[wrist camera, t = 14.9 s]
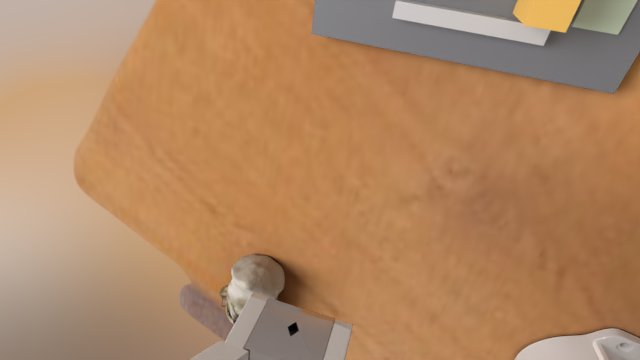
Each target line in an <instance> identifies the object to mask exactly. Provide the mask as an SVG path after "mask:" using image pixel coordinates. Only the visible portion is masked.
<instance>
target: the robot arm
mask: <svg viewBox="0 0 640 360" xmlns="http://www.w3.org/2000/svg"><path fill="white" fill-rule="evenodd" d="M334 321H335V322H334ZM352 325H353V324H350V323H347V322H343V321H340V320H337V319H335V318H332V317H329V316H326V315H323V314H319V313H316V312H313V311H309V310H306V309H303V308H299V307H296V306H293V305H290V304H287V303H284V302H281V301H278V300H275V299H272V298H270V297H266V296H263V295H260V294H257V293H254V292H253V293H252V295H251V296H250V297H249V298H248V300H247V302H246V304H245V306H244V308H243V309H242V311H241V313H240V315H239V317H238V319H237V320H236V322H235V324H234V326H233V328H232V330H231V331H230V333H229V335H228V337H227V339H226V341H225V342H223V341H218V342H217V343H215V344H214V345H212V346H211V347H209V348H207V349H206V350H204V351H203V352H201V353H199V354H198V355H196V356H195V357H193V358H192V359H190V360H345V358H346V353H347V349H348V345H349V341H350V336H351V332H352ZM515 360H640V338H638V337H636V336H634V335H632V334H629V333H627V332H625V331H622V330H620V329H615V328H610V329H604V330H600V331H596V332H593V333H590V334H586V335H577V336H561V337H554V338H549V339H545V340H541V341H538V342H536V343H533V344H531V345H529V346H527V347H526V348H524V349H523V350H522V351H521V352H520V353H519V354H518V355H517V356H516V358H515Z"/></svg>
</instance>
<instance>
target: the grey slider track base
mask: <svg viewBox="0 0 640 360" xmlns="http://www.w3.org/2000/svg"><path fill="white" fill-rule="evenodd" d="M516 3H517V0H315V6H314V16H313V26H312V34H315V35H320V36H325V37H330V38H335V39H340V40H345V41H350V42H355V43H360V44H365V45H370V46H375V47H380V48H385V49H390V50H395V51H400V52H405V53H410V54H416V55H421V56H426V57H431V58H436V59H441V60H446V61H451V62H456V63H461V64H466V65H471V66H476V67H481V68H486V69H491V70H496V71H501V72H506V73H511V74H516V75H521V76H526V77H531V78H536V79H541V80H546V81H551V82H556V83H562V84H567V85H572V86H577V87H582V88H587V89H592V90H597V91H602V92H607V93H612V94H614V93H615V91H616V90H617V88H618V86H619V85H620V83H621V81H622V80H623V78H624V77H625V75H626V73H627V72H628V70H629V68H630V67H631V65H632V64H633V62H634V60H635V59H636V57H637V55H638V54H639V52H640V0H581V2H580V4H579V6H578V8H577V10H576V12H575V14H574V16H573V18H572V21H571V23H570V25H569V27H568V29H567V31H566V33H564V32H558V31H553V30H547V29H541V28H536V27H530V26H525V25H523V23H522V22H521V21H520V20H519V19H518V18H517V17H516V16H515V15H514V14H513V10H514V8H515V5H516Z"/></svg>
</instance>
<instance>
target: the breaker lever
mask: <svg viewBox="0 0 640 360" xmlns="http://www.w3.org/2000/svg"><path fill="white" fill-rule="evenodd" d="M580 2H581V0H517V3H516V5H515V8H514V10H513V14H514V15H515V16H516V17H517V18H518V19H519V20H520V21H521V22H522V23H523V25H525V26H530V27H536V28H541V29H547V30H553V31H558V32H564V33H566V31H567V29H568V27H569V25H570V23H571V21H572V18H573V16H574V14H575V12H576V10H577V8H578V6H579V4H580Z"/></svg>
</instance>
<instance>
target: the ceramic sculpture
mask: <svg viewBox="0 0 640 360" xmlns="http://www.w3.org/2000/svg"><path fill="white" fill-rule="evenodd" d="M231 271H232V273H231V274H232V280H231V282H230V283H229V285H227V286H225V287H223V288H222V289H221V290H220V292H219V294H220V295H221V297H222V307H225V306H226V314H227V317H228V319H229V320H230V322H231V323H233V324H235V322H236V320H237V319H238V317H239V315H240V313H241V311H242V309H243V308H244V306H245V304H246V302H247V300H248V298H249V297H250V296H251V295H252V293H253V292H254V293H257V294H260V295H263V296H266V297H270V298H272V299H275V300H278V299H277V298H278V294H279V293H280V292H281V291H282V290H283V288H284V283H285V275H284V271H283V268H282V267H281V266H280V265H279V264H278V263H276V262H275V261H274V260H273V259H272V258H270V257H268V256H264V255H255V254H251V255H247V256H245V257H243V258H241V259H240V260H239V261H238V262H237V263H235V264H234V265H233V267H232V269H231ZM278 301H279V300H278Z"/></svg>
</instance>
